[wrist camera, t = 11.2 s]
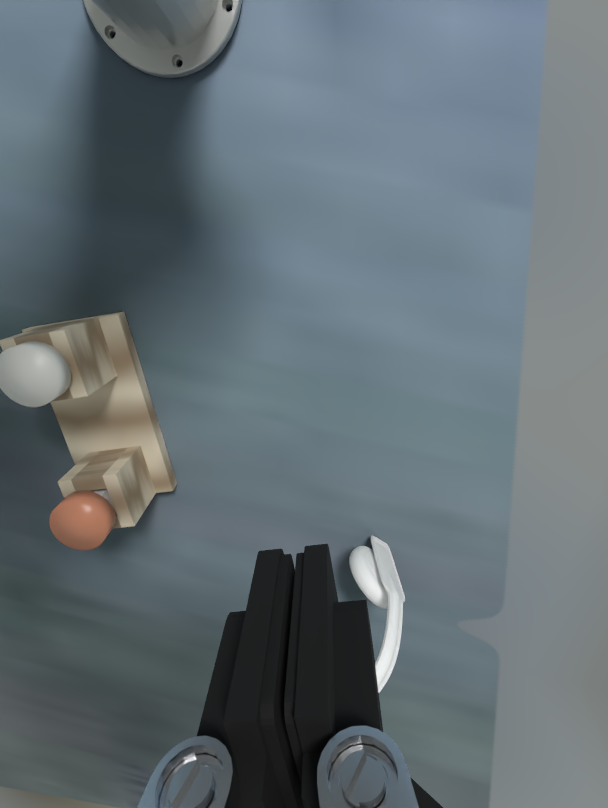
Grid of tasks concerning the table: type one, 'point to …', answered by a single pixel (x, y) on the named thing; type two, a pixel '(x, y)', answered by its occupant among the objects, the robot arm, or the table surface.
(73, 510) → the terracotta plug
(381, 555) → the headset
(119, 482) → the block
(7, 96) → the table surface
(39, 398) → the plug
